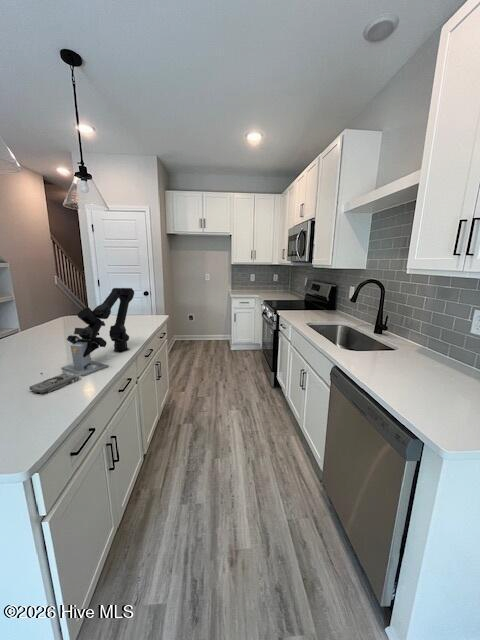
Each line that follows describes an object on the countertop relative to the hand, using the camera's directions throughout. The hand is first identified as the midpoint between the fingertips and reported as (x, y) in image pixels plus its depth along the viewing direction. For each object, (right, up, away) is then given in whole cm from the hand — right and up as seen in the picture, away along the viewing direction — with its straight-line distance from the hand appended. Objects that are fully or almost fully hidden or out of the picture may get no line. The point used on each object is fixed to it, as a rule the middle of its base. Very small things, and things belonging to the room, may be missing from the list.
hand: (79, 356), depth 126 cm
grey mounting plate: (0, -7, +5) cm, 8 cm away
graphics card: (-3, -11, -12) cm, 17 cm away
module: (0, -6, +3) cm, 7 cm away
